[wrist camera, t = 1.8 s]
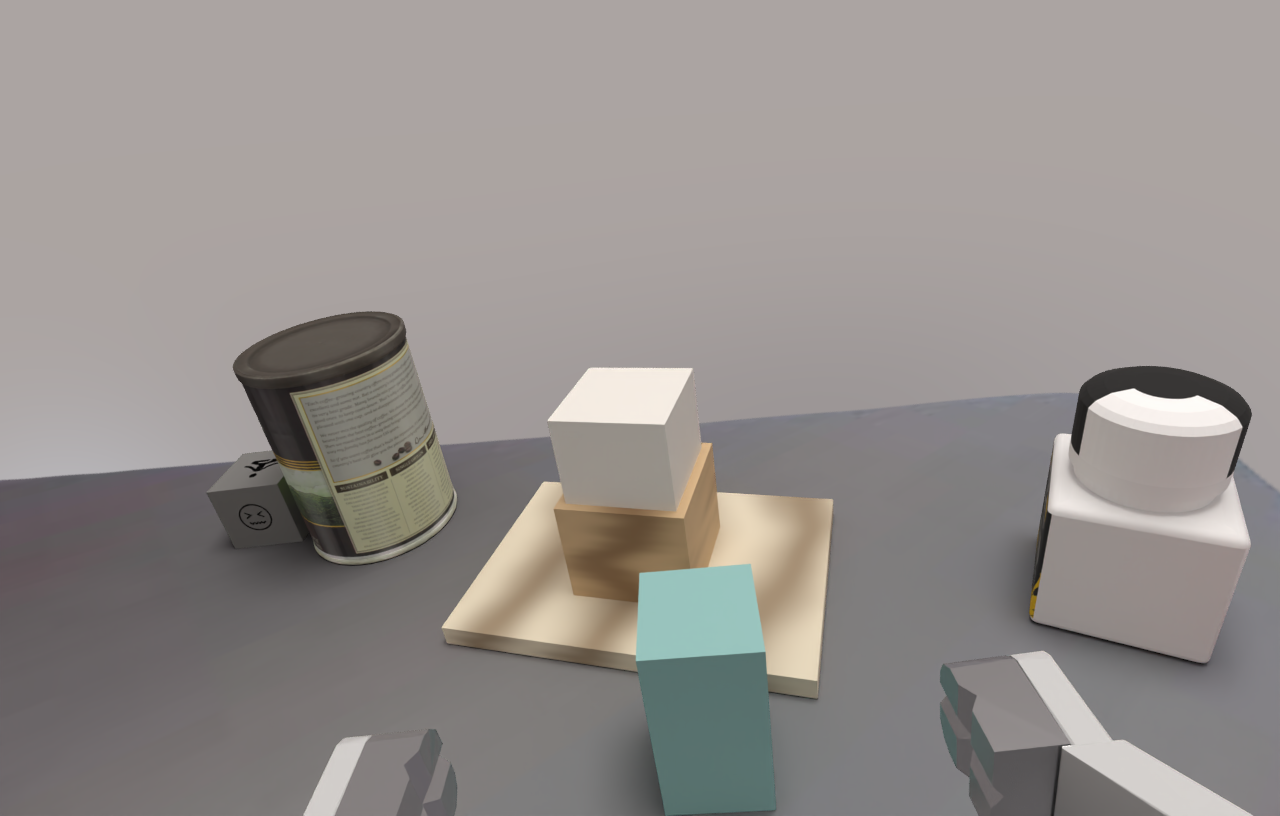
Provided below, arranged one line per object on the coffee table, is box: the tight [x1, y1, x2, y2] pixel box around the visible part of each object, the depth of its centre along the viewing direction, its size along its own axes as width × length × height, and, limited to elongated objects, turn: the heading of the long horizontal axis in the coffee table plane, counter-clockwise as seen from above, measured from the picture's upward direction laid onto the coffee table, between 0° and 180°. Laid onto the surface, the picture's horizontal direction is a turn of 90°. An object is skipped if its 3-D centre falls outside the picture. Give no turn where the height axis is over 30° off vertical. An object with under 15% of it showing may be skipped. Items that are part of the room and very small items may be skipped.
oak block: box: [553, 443, 720, 603], centre depth 39 cm, size 7×7×6 cm
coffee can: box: [233, 312, 457, 565], centre depth 47 cm, size 10×10×14 cm
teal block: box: [636, 564, 776, 816], centre depth 28 cm, size 4×4×9 cm
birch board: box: [442, 482, 833, 699], centre depth 41 cm, size 20×14×1 cm
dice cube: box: [206, 450, 309, 549], centre depth 50 cm, size 5×5×5 cm
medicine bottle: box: [1029, 366, 1252, 663], centre depth 32 cm, size 7×7×12 cm
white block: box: [547, 368, 702, 512], centre depth 36 cm, size 6×6×5 cm
